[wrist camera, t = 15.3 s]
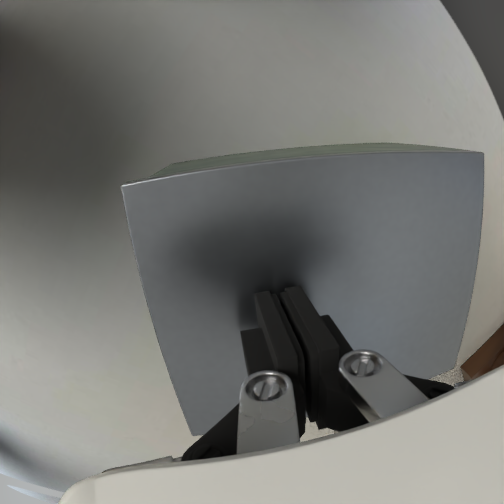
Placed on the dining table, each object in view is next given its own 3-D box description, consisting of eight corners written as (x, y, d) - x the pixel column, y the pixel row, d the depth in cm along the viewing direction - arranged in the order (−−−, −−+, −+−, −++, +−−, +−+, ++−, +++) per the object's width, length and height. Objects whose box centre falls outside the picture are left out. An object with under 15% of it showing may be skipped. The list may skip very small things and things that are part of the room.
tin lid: (192, 424, 14) (192, 436, 13) (125, 181, 10) (119, 184, 9) (446, 361, 15) (454, 368, 15) (472, 150, 11) (484, 152, 11)
